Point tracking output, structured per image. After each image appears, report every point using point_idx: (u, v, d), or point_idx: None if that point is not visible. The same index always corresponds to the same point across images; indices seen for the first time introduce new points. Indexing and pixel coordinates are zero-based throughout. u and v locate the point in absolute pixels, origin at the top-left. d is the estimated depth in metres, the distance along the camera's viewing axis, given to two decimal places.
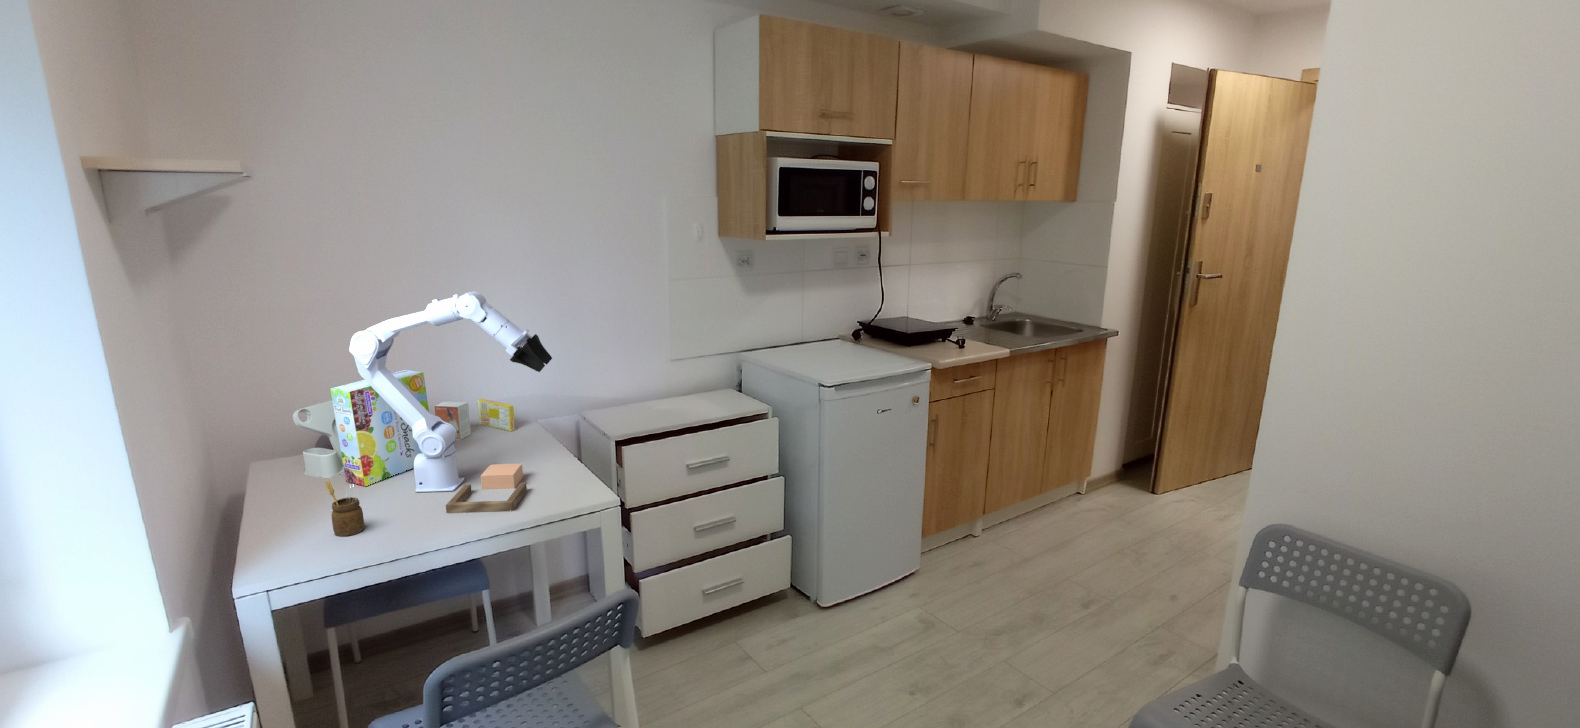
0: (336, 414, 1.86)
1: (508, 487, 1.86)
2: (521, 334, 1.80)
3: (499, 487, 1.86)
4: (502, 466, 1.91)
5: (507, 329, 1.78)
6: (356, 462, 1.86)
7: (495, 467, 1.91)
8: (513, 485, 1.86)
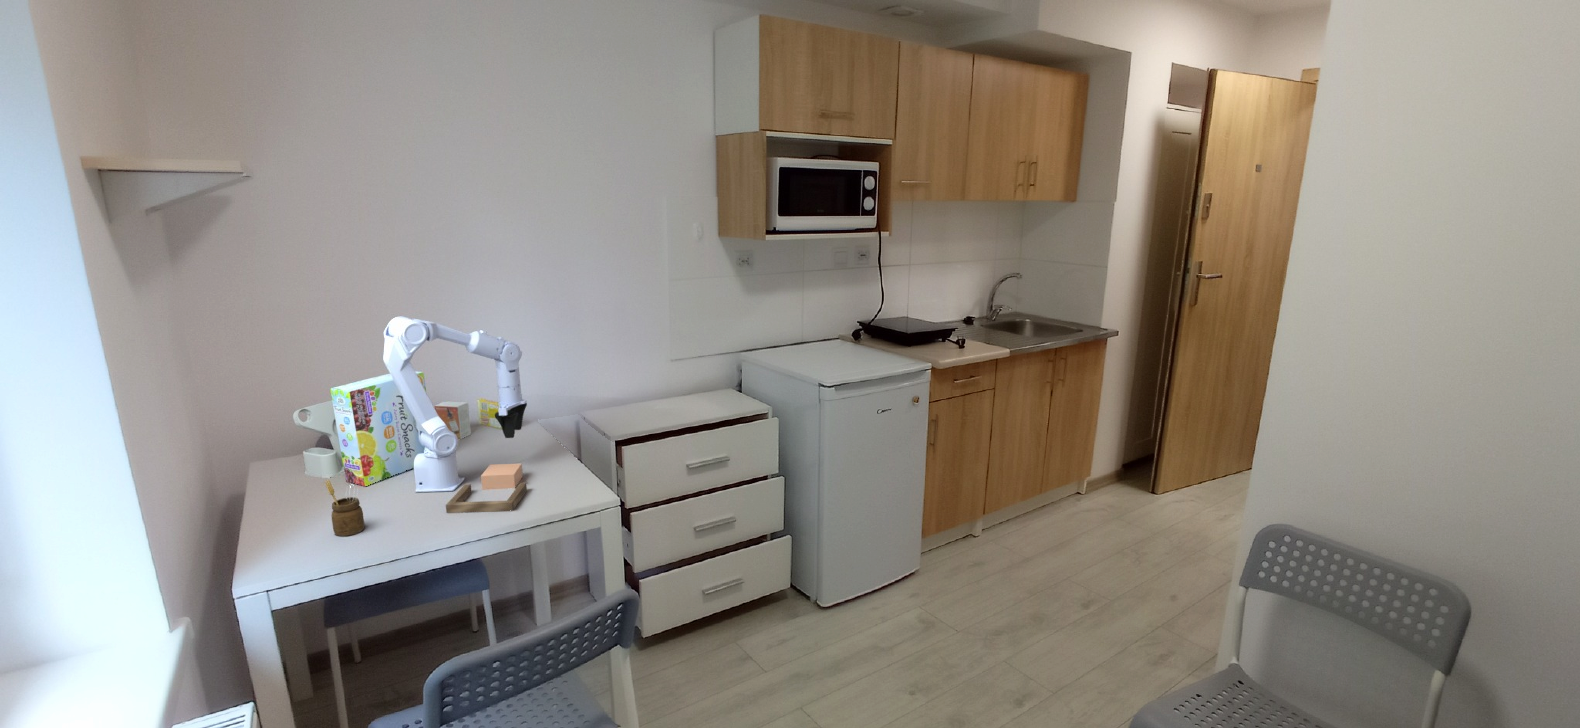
0: (336, 414, 1.86)
1: (509, 487, 1.86)
2: (519, 402, 1.96)
3: (499, 487, 1.86)
4: (501, 466, 1.91)
5: (513, 391, 1.94)
6: (356, 462, 1.86)
7: (495, 467, 1.90)
8: (514, 485, 1.86)
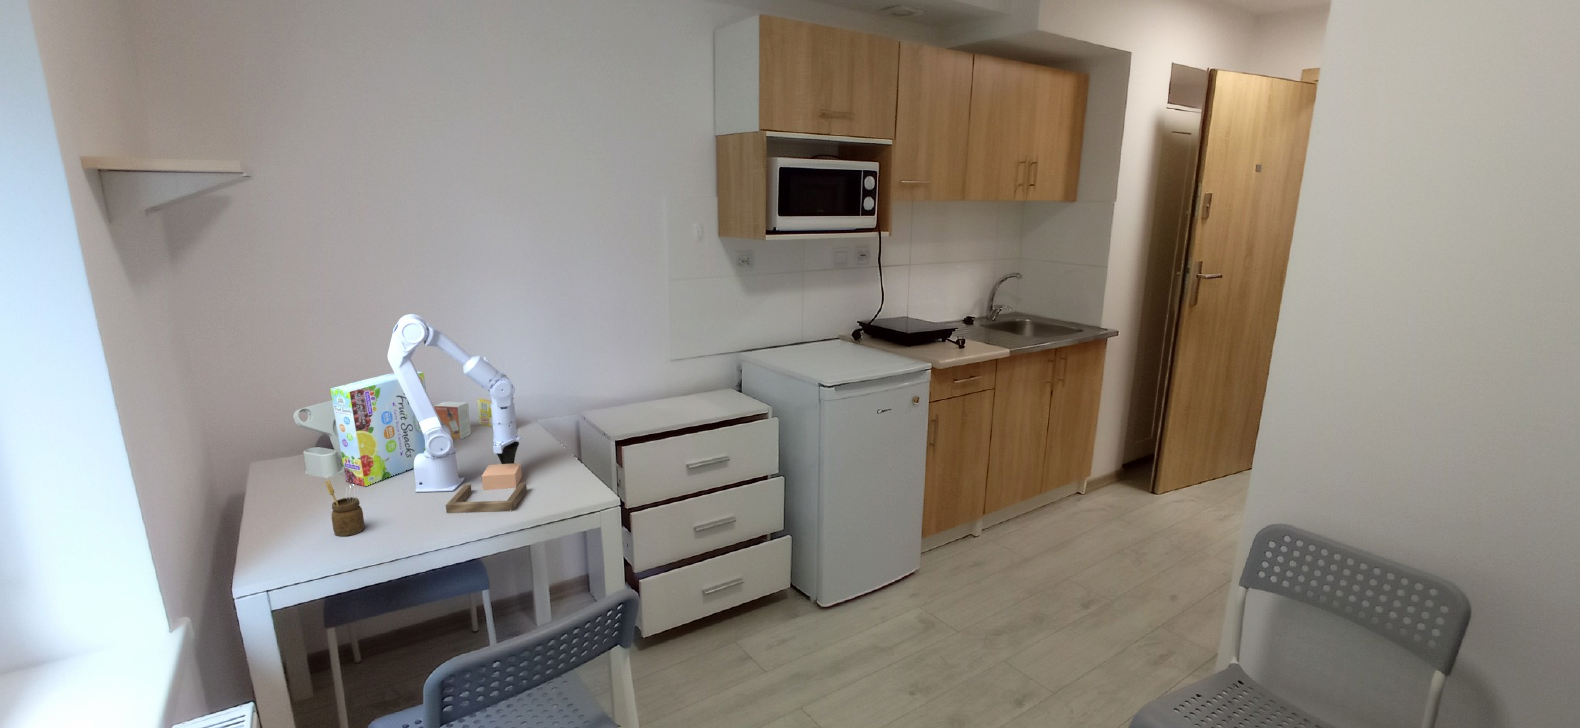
0: (336, 414, 1.86)
1: (510, 487, 1.86)
2: (514, 438, 1.91)
3: (500, 487, 1.86)
4: (501, 466, 1.91)
5: (508, 428, 1.90)
6: (356, 462, 1.86)
7: (494, 467, 1.90)
8: (515, 484, 1.86)
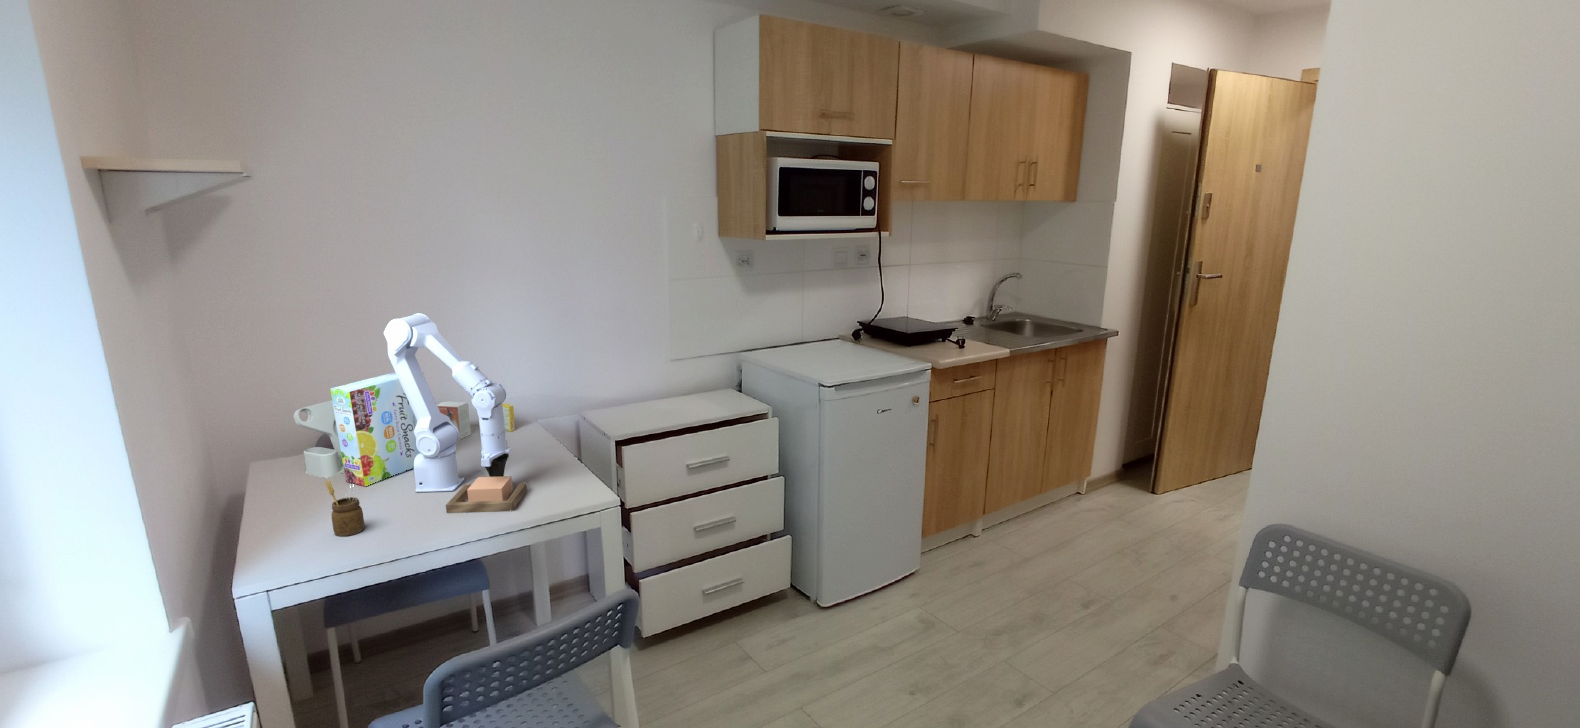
0: (336, 414, 1.86)
1: None
2: (503, 450, 1.82)
3: None
4: (490, 479, 1.82)
5: (497, 439, 1.81)
6: (356, 462, 1.86)
7: (483, 480, 1.81)
8: (501, 499, 1.77)
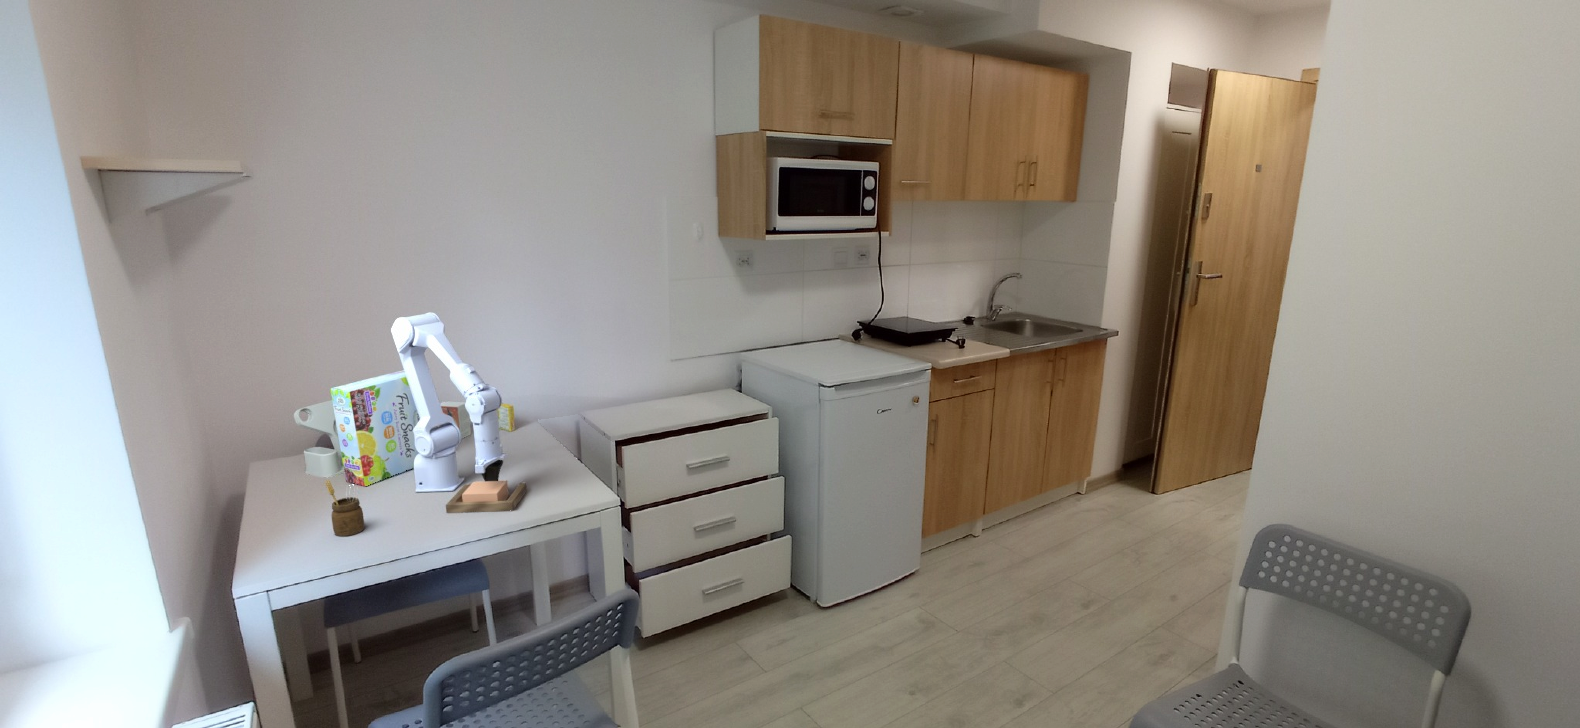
0: (336, 414, 1.86)
1: None
2: (498, 456, 1.78)
3: None
4: (485, 484, 1.79)
5: (491, 445, 1.76)
6: (356, 462, 1.86)
7: (479, 484, 1.78)
8: None
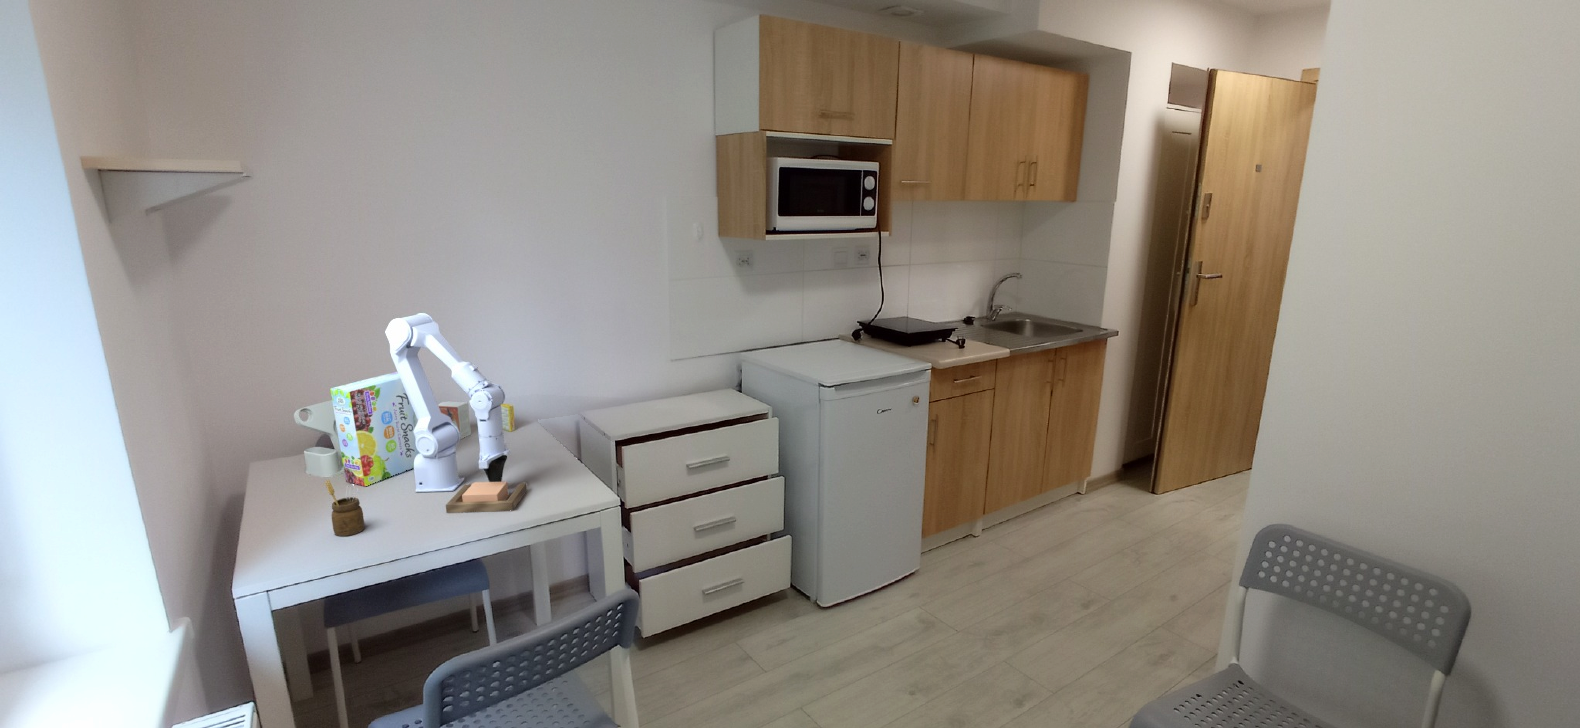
0: (336, 414, 1.86)
1: None
2: (501, 452, 1.81)
3: None
4: (486, 484, 1.79)
5: (495, 441, 1.79)
6: (356, 462, 1.86)
7: (479, 485, 1.78)
8: None
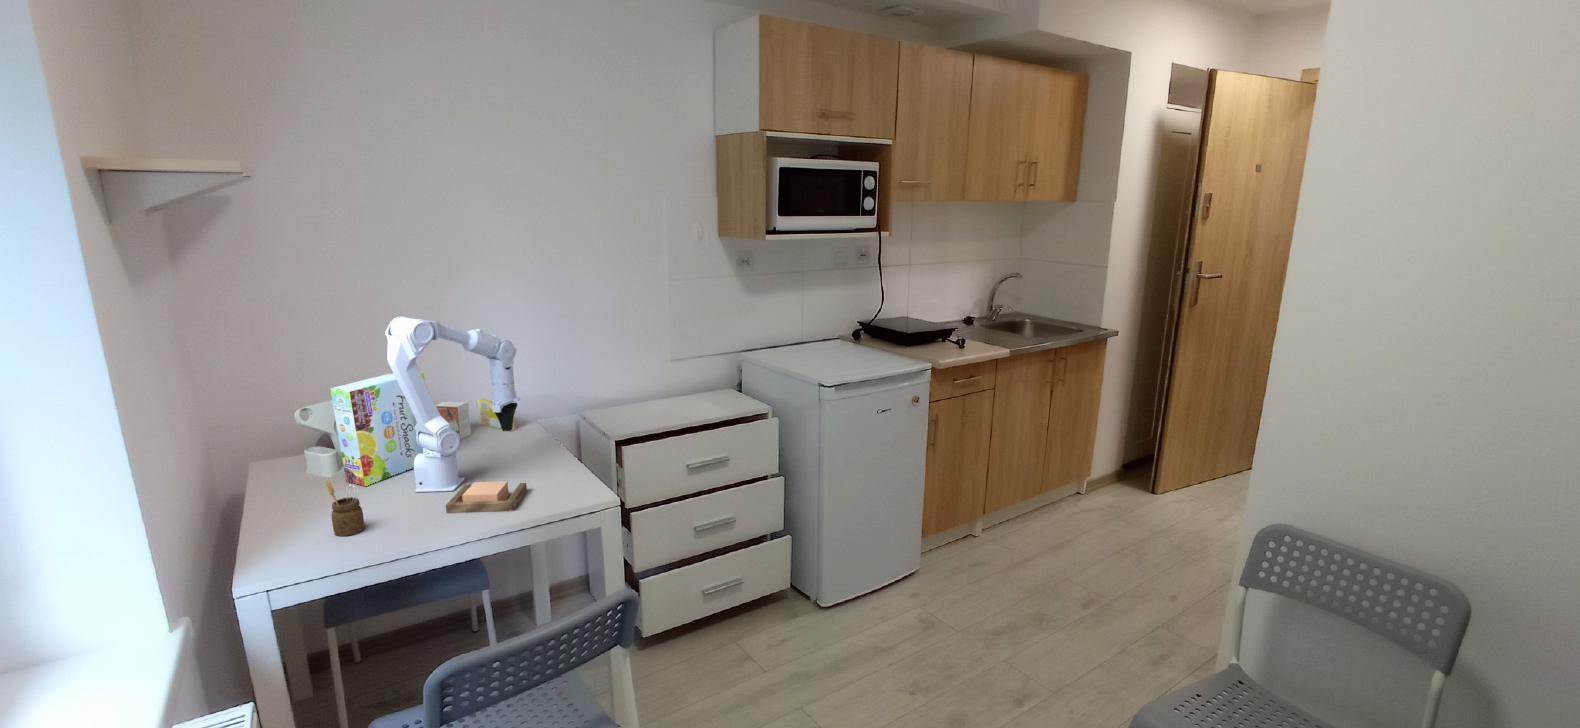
0: (336, 414, 1.86)
1: None
2: (512, 399, 1.99)
3: None
4: (486, 484, 1.79)
5: (507, 388, 1.97)
6: (356, 462, 1.86)
7: (479, 485, 1.78)
8: None
